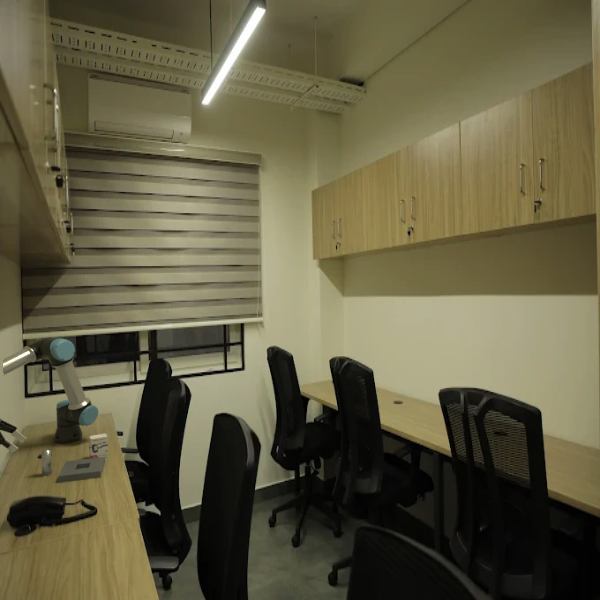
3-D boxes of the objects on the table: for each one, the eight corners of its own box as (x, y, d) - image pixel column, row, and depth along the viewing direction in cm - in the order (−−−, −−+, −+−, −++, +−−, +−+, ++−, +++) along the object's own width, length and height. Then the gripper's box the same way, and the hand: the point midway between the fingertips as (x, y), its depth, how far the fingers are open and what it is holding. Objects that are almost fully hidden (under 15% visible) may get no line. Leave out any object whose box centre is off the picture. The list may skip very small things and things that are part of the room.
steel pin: (43, 473, 212) (42, 449, 211) (52, 472, 213) (52, 448, 212) (41, 477, 208) (40, 452, 207) (50, 476, 209) (50, 451, 209)
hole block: (66, 467, 219) (66, 461, 219) (105, 462, 225) (105, 456, 224) (58, 482, 202) (58, 476, 202) (100, 477, 207) (100, 471, 207)
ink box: (90, 461, 227) (90, 438, 226) (89, 458, 231) (88, 436, 230) (108, 457, 231) (108, 435, 231) (106, 454, 235) (106, 433, 235)
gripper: (-15, 415, 212) (21, 442, 218) (-36, 431, 189) (5, 461, 194) (-2, 403, 214) (33, 431, 219) (-22, 418, 190) (18, 448, 195)
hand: (20, 445), depth 206 cm, fingers open, 13 cm apart
